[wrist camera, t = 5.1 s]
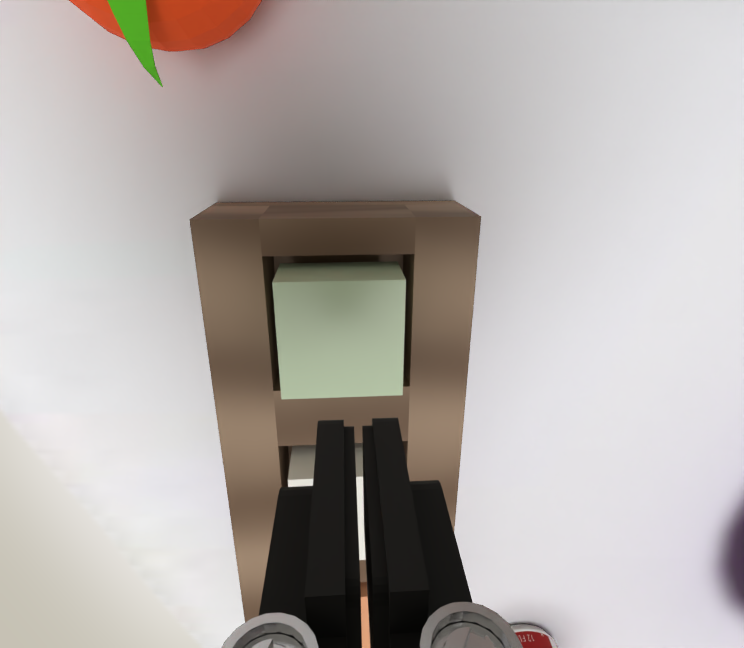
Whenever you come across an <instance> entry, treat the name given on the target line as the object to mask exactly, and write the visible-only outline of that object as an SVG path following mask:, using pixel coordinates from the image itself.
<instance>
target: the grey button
mask: <svg viewBox="0 0 744 648" xmlns="http://www.w3.org/2000/svg"><path fill="white" fill-rule="evenodd" d="M315 451H316V445H296V446H292V452H291V459H290V467H289V474H288V487H298V486H313V477H314V464H315ZM355 462H356V487H357V512H358V536H359V560H366V558H365V539H364V501H363V444H362V443H355Z"/></svg>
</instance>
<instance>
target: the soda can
mask: <svg viewBox="0 0 744 648" xmlns="http://www.w3.org/2000/svg"><path fill="white" fill-rule="evenodd" d="M511 628H512V629H513V631H514V632H515V634H516V635H517V637H518V638H519V640H520V642H521V644H522V646H523V648H558V647H557V644H556V642H555V641H554V639H553V638H552V637H551V636H550V635H548V634H547V633H546V632H545V631H544V630H543V629H541V628H539V627H537V626H533V625H528V624H518V625H512V626H511Z"/></svg>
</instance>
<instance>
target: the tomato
mask: <svg viewBox="0 0 744 648" xmlns="http://www.w3.org/2000/svg"><path fill="white" fill-rule="evenodd" d="M69 1H71V2H72V3H73V4H74V5H75V6H77V7H78V8H79V9H80V10H82V11H83V12H84V13H86V14H87V15H88V16H89V17H91V18H92V19H93V20H94V21H96V22H97V23H98V24H99V25H101V26H102V27H103V28H105V29H106V30H107V31H108V32H110V33H112V34H114V35H117V36H119V37H121V38H123V39H125V40H127V42H128V43H129V45H130V47H131V48H132V50H133V51H134V53H135V54H136V56H137V57H138V59H139V61H140V62H141V64H142V65H143V67H144V68H145V69H146V70H147V71H148V72H149V73H150V74H151V75H152V77H153V78H154V79H155V80H156V81H157V82H158V83H159V84H160V85H161V86H162V83H161V80H160V78H159V75H158V73H157V70H156V67H155V63H154V58H153V53H152V48H153V49H159V50H164V51H185V50H195V49H204V48H207V47H209V46H211V45H214V44H216V43H218V42H220V41H223V40H225V39H227V38H229V37H230V36H232V35H233V34H234V33H235V32H236V31H237V30H238V29H240V28H241V27H242V26H243V25H244V24H245V23H246V22H248V21H249V20H250V18H251V17H252V15H253V14H254V12H255V10H256V9H257V7H258V6H259V4H260V3H261V1H262V0H69ZM162 87H163V86H162Z"/></svg>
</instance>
